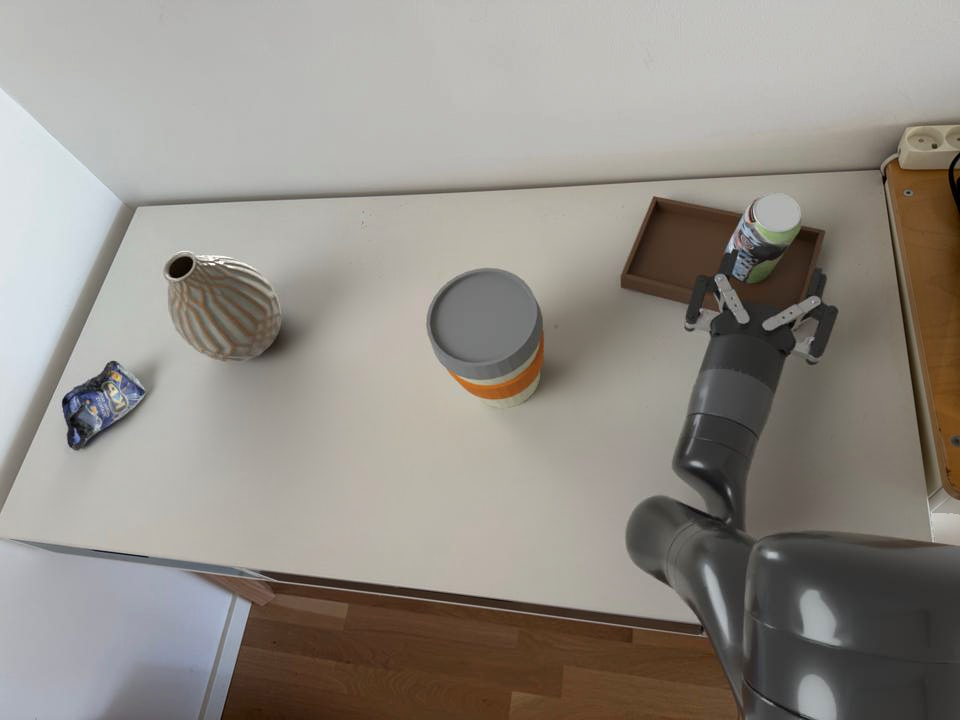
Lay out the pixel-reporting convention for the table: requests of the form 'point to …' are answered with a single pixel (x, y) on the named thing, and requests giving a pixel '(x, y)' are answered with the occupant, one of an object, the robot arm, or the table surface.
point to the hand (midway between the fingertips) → (774, 262)
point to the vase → (221, 306)
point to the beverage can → (764, 236)
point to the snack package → (100, 403)
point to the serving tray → (710, 257)
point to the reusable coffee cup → (489, 335)
